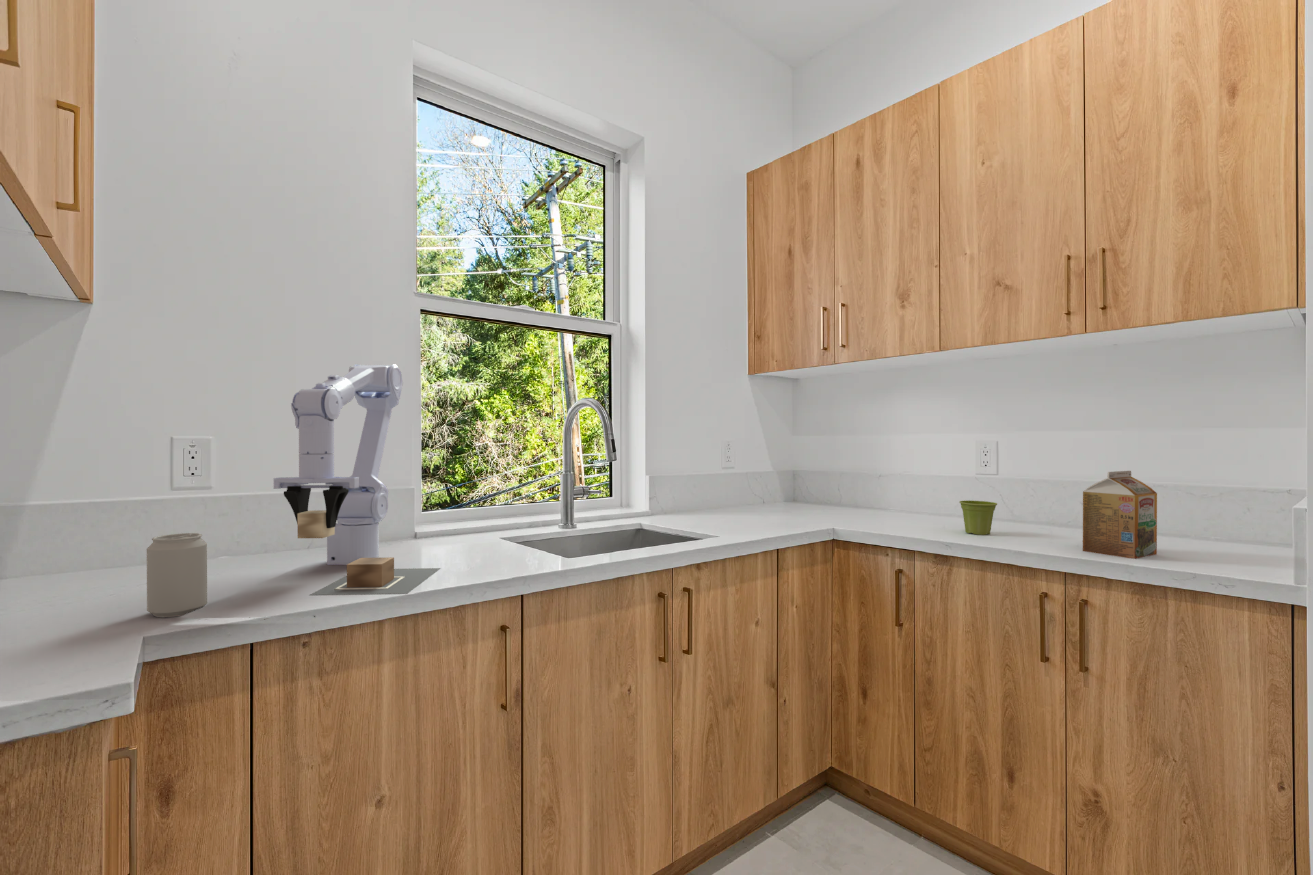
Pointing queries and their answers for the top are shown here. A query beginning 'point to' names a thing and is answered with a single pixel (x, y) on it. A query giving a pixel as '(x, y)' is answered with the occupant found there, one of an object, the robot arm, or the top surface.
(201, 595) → the can
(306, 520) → the maple cube
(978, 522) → the plant pot
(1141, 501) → the milk carton
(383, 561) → the walnut block
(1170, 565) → the top surface
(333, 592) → the gray mat
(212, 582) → the top surface
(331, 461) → the robot arm
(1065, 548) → the top surface
